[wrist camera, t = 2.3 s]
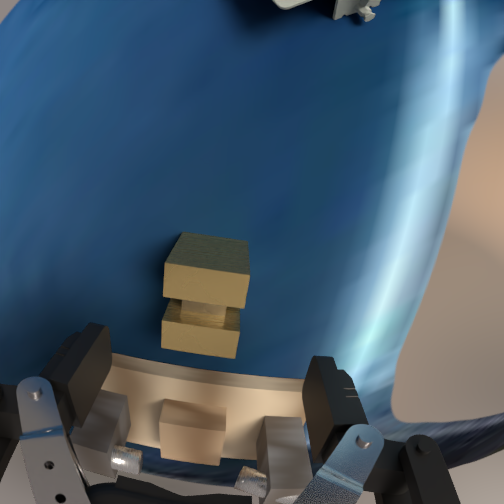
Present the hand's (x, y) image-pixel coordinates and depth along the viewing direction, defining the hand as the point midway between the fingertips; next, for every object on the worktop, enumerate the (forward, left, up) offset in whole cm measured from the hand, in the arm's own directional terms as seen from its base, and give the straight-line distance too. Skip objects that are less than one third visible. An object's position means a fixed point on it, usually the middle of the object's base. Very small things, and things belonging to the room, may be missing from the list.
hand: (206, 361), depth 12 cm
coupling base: (-1, -13, -9) cm, 16 cm away
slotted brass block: (-1, 0, -9) cm, 9 cm away
